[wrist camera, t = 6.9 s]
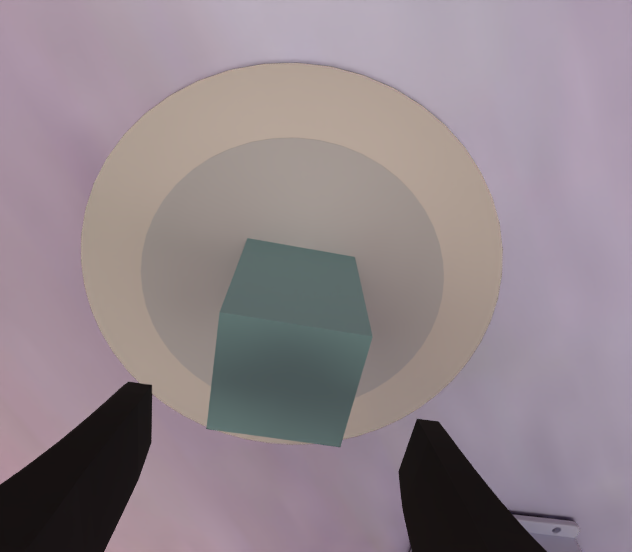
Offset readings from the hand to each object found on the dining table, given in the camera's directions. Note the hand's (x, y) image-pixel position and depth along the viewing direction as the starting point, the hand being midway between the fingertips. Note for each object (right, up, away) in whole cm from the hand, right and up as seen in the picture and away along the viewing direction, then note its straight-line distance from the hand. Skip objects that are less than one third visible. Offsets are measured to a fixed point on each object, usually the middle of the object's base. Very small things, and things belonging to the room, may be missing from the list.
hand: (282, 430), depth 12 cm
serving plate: (0, +4, +8) cm, 9 cm away
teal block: (0, +3, +7) cm, 8 cm away
